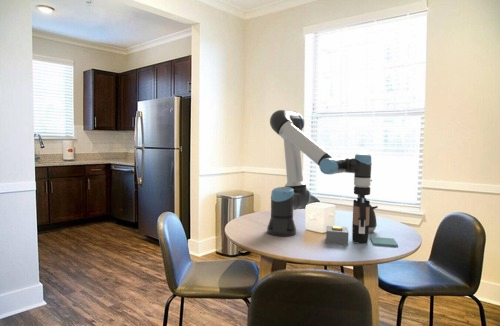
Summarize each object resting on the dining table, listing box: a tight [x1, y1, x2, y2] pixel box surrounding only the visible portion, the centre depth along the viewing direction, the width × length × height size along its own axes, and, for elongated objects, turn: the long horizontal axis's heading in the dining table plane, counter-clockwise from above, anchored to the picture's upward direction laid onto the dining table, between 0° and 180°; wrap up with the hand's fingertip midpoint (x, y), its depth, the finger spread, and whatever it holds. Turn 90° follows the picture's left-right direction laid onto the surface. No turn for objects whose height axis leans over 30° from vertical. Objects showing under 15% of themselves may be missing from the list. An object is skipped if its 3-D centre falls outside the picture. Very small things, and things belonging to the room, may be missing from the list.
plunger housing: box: [325, 225, 349, 246], centre depth 168 cm, size 10×10×6 cm
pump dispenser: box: [368, 204, 378, 234], centre depth 186 cm, size 10×10×15 cm
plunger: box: [332, 225, 343, 231], centre depth 168 cm, size 4×4×6 cm
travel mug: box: [351, 199, 371, 245], centre depth 168 cm, size 8×8×20 cm
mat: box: [370, 236, 399, 248], centre depth 167 cm, size 11×11×1 cm
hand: (360, 230), depth 168 cm, fingers open, 12 cm apart
